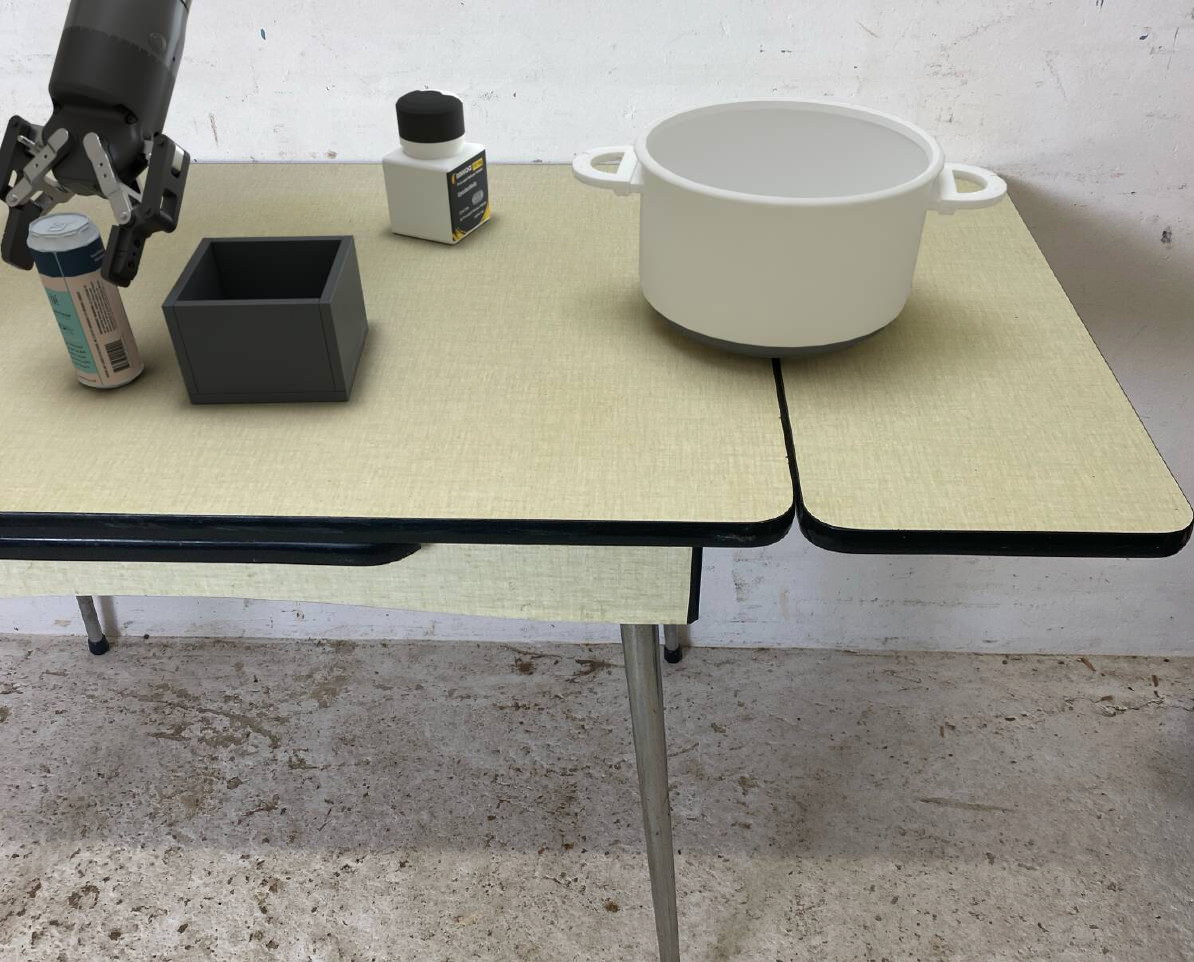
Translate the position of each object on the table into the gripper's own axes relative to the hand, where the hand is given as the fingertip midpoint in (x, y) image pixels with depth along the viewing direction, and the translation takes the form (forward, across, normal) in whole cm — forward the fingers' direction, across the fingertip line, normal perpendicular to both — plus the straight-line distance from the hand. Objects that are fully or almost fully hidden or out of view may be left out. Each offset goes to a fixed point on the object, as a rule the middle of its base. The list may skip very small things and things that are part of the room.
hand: (63, 274), depth 74 cm
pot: (-14, -45, -27) cm, 54 cm away
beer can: (+6, 0, -7) cm, 9 cm away
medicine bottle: (-19, -11, -32) cm, 38 cm away
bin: (+1, -11, -11) cm, 16 cm away
